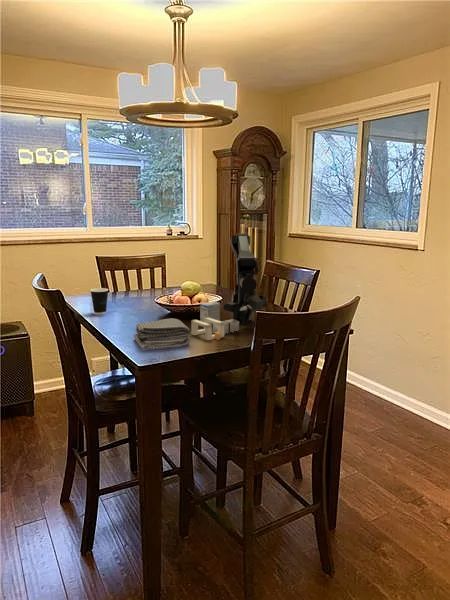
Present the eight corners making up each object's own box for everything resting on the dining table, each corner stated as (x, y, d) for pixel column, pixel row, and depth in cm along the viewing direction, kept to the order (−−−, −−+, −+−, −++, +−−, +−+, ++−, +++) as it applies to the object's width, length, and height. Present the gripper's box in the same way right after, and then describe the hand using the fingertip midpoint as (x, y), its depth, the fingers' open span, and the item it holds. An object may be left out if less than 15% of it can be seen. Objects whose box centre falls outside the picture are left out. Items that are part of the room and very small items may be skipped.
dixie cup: (105, 315, 202) (104, 291, 200) (88, 315, 203) (87, 290, 201) (111, 311, 210) (110, 288, 208) (95, 311, 211) (93, 287, 209)
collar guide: (208, 331, 180) (208, 317, 179) (227, 337, 171) (227, 323, 170) (191, 334, 175) (191, 320, 174) (210, 341, 166) (210, 326, 165)
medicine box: (212, 321, 196) (212, 301, 194) (220, 322, 193) (220, 302, 191) (199, 324, 190) (199, 304, 188) (207, 326, 187) (208, 305, 185)
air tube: (232, 328, 184) (232, 319, 183) (238, 331, 181) (239, 321, 180) (212, 332, 177) (212, 322, 177) (219, 335, 174) (219, 325, 174)
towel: (191, 346, 161) (191, 324, 159) (139, 351, 155) (139, 329, 153) (181, 335, 175) (181, 315, 173) (132, 339, 169) (132, 318, 167)
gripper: (241, 293, 170) (240, 333, 173) (276, 288, 182) (275, 326, 185) (222, 288, 178) (222, 327, 182) (257, 284, 190) (256, 320, 193)
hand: (244, 325), depth 185 cm, fingers closed
